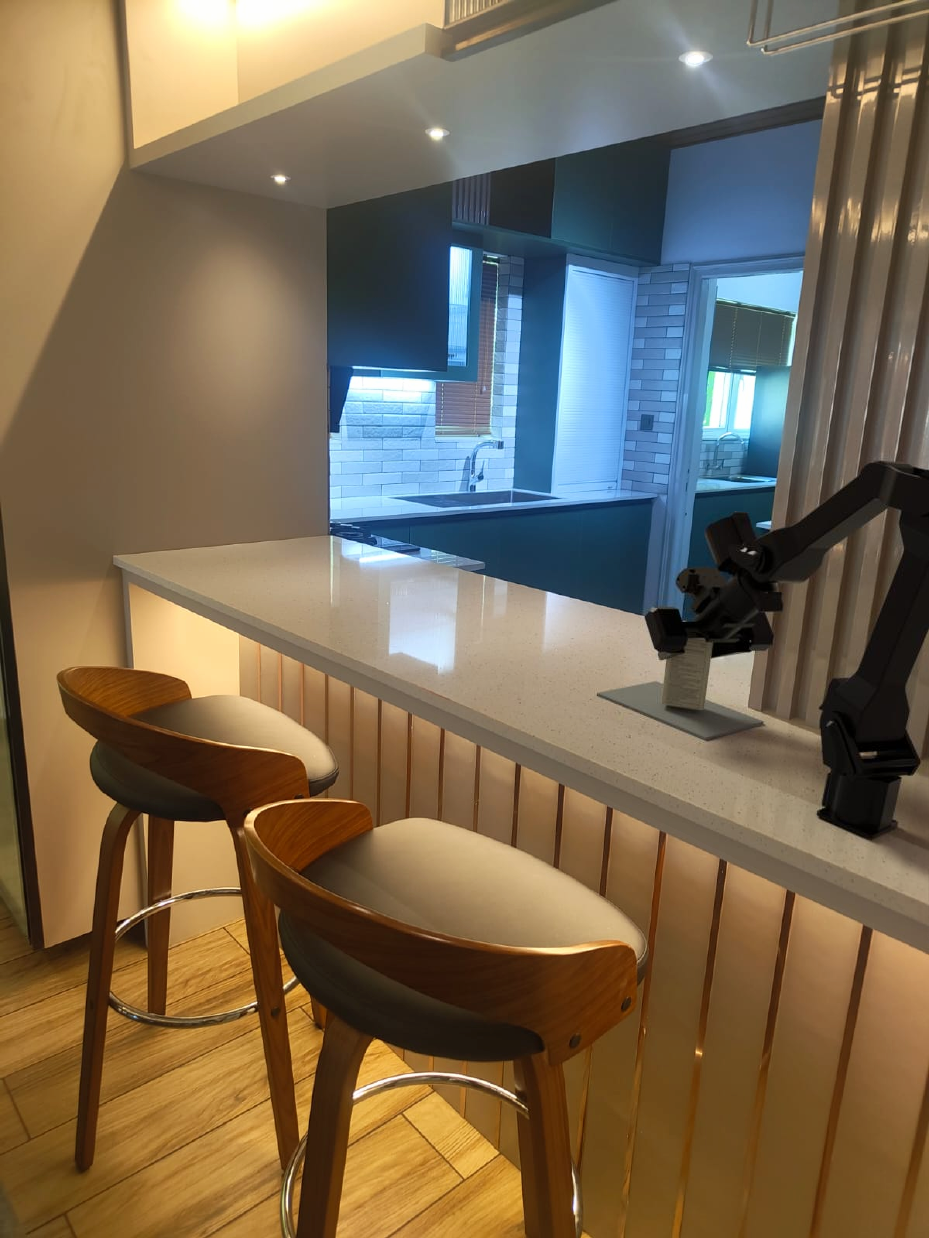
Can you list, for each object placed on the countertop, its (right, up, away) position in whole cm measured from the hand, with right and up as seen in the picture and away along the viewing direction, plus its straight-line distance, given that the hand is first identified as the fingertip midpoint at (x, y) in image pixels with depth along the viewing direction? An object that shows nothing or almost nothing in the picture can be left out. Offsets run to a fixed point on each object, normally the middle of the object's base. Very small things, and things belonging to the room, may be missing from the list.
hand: (681, 657), depth 130 cm
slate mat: (0, -8, +1) cm, 8 cm away
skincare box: (0, -7, 0) cm, 7 cm away
